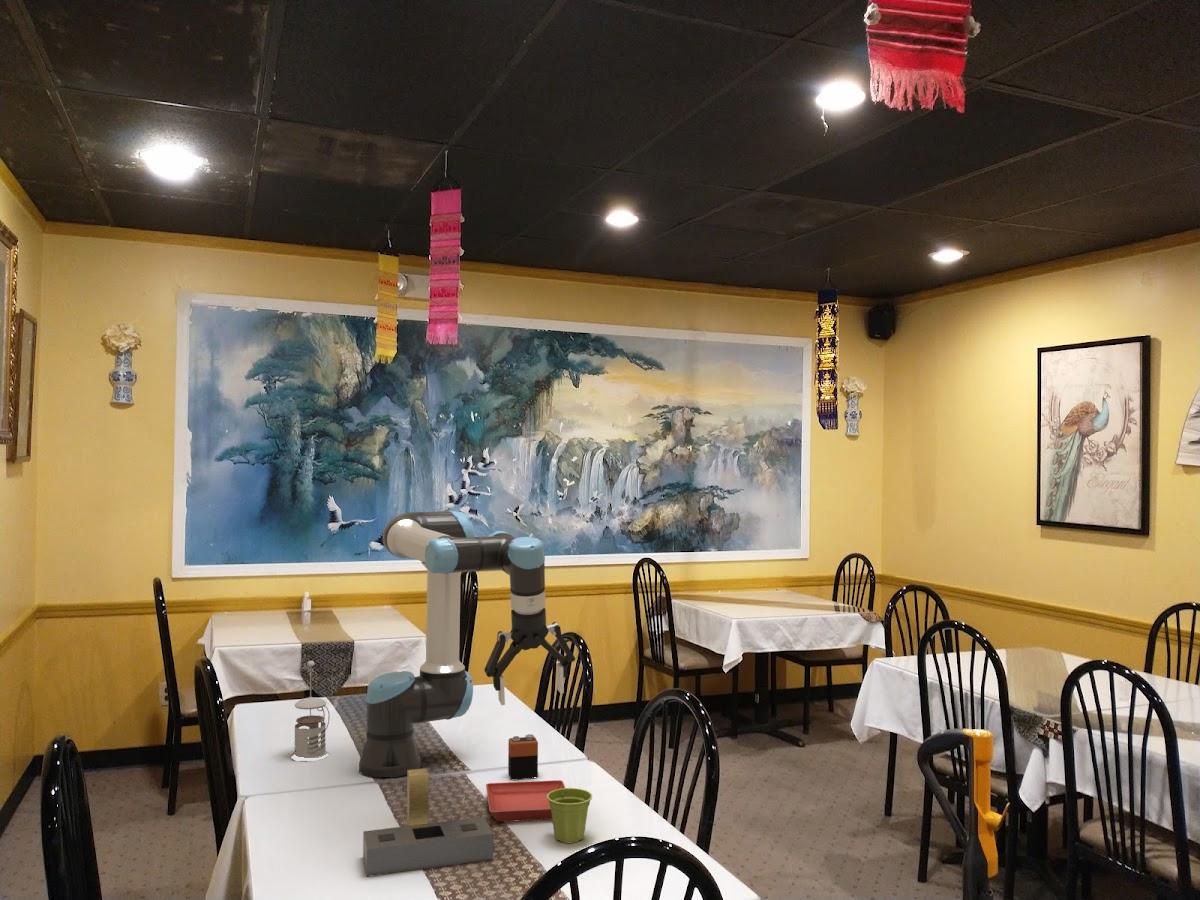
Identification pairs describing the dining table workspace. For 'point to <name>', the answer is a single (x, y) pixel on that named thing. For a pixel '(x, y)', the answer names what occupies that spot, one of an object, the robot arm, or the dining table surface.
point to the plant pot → (569, 813)
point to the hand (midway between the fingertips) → (531, 696)
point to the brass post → (417, 797)
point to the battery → (523, 757)
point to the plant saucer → (521, 799)
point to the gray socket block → (427, 845)
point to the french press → (310, 727)
